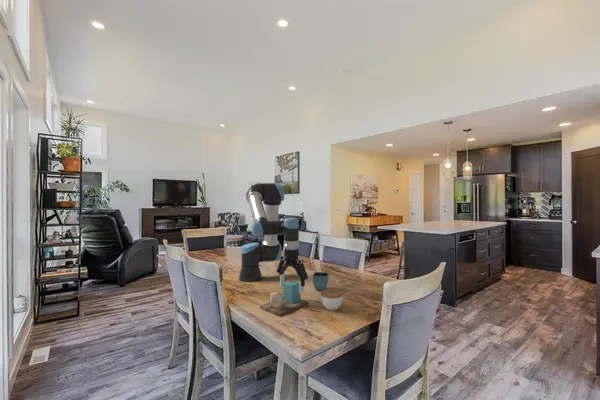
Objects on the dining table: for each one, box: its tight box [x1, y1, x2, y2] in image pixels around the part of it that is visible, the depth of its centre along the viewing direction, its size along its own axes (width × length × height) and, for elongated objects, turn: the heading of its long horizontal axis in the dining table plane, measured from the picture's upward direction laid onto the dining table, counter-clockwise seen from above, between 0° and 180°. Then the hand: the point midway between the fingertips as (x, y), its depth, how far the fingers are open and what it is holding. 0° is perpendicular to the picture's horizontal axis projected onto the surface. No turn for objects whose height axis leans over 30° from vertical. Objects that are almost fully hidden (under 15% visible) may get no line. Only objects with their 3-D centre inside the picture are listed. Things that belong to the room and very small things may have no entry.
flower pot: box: [311, 271, 330, 291], centre depth 172 cm, size 9×9×9 cm
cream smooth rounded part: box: [269, 292, 283, 309], centre depth 141 cm, size 6×6×8 cm
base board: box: [259, 296, 309, 317], centre depth 146 cm, size 14×20×2 cm
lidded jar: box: [320, 288, 344, 311], centre depth 143 cm, size 11×11×9 cm
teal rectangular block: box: [282, 280, 302, 304], centre depth 150 cm, size 6×6×9 cm
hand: (291, 289), depth 150 cm, fingers open, 13 cm apart
